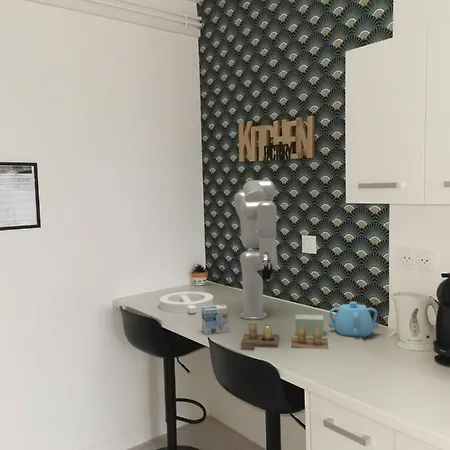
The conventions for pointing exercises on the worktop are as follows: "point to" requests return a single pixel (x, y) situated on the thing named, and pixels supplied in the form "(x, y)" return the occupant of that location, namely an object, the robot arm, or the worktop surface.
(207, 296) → the ring with crossbar
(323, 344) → the board
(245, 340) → the build board
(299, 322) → the cover
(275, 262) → the robot arm
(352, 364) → the worktop surface
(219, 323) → the light bulb box
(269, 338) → the pin
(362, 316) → the decorative pot
